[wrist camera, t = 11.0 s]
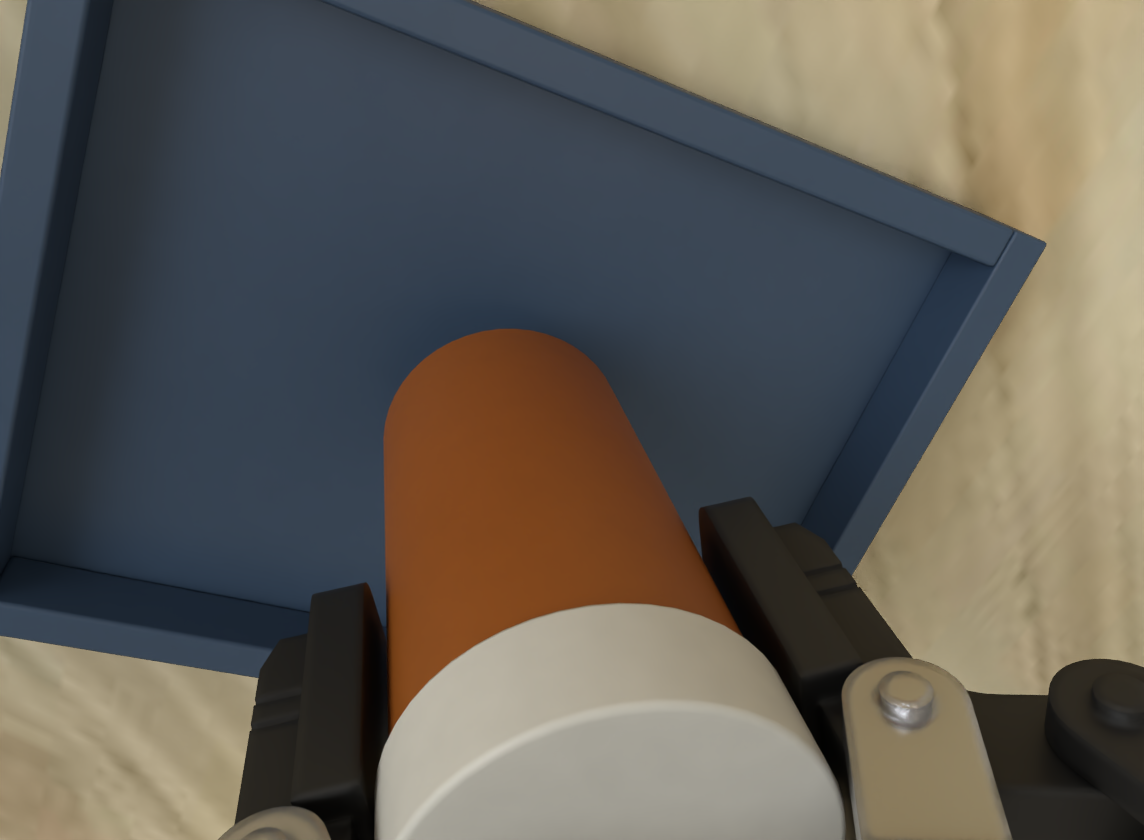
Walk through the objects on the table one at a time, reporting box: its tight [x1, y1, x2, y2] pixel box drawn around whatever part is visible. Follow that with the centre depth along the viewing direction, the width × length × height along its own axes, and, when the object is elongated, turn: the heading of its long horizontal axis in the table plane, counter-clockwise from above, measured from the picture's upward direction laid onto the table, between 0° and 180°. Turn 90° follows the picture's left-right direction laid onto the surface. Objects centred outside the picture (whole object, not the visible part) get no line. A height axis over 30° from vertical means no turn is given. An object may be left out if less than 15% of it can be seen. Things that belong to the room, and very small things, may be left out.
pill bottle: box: [374, 329, 846, 840], centre depth 13 cm, size 5×5×10 cm
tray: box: [0, 0, 1046, 678], centre depth 19 cm, size 18×14×2 cm
